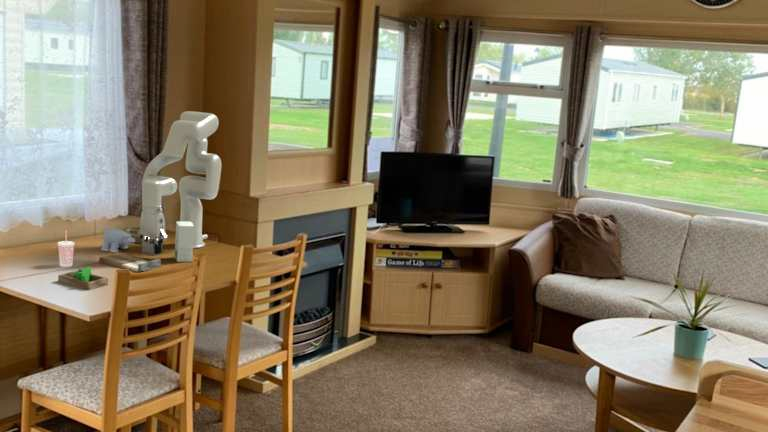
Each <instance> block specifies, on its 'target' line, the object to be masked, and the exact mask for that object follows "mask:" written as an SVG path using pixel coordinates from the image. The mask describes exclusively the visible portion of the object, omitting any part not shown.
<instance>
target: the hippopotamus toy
mask: <svg viewBox="0 0 768 432" xmlns="http://www.w3.org/2000/svg"><path fill="white" fill-rule="evenodd" d="M101 227H102V228H103V230H104V234H103V236H102V240H103V242H102V245H101V249H100V250H101V251H102V252H103V251H104V252H110V253H119V252H120V251H119V249H125V250H127V249H128V248H129V247H130V246H133V245H135V243H136V242H135V238H132V236H131V233H129V234H127V233H126V232H124V231H123V230H124V229H123V230H122V229H119V228H109V229H108V228H107V227H106V226H104V225H102V226H101ZM127 245H129V246H127Z"/></svg>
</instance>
